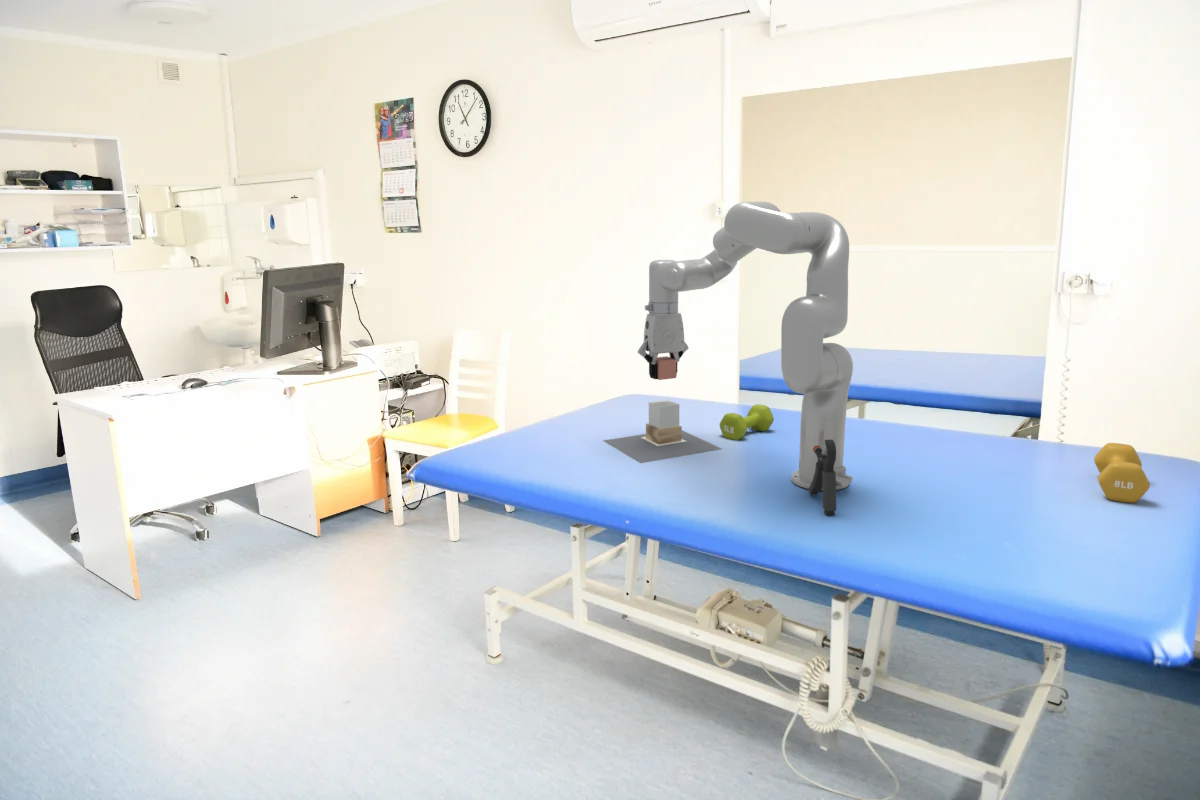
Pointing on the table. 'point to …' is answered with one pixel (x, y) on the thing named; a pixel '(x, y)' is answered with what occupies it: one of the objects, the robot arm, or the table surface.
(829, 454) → the hand grip strengthener
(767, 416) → the dumbbell
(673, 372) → the red cube
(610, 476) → the table surface
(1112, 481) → the dumbbell
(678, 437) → the oak base
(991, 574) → the table surface
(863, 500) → the table surface
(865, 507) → the table surface
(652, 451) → the grey mat
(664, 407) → the grey cube
